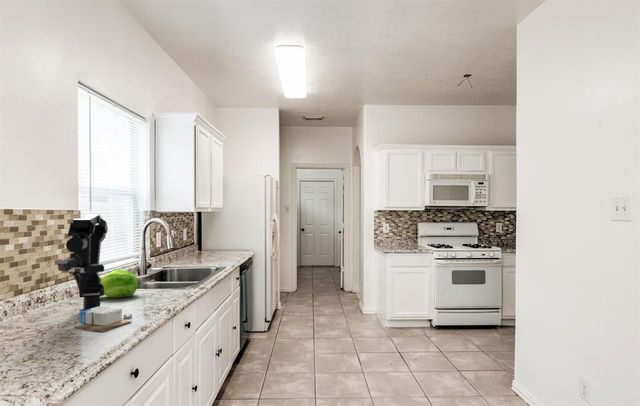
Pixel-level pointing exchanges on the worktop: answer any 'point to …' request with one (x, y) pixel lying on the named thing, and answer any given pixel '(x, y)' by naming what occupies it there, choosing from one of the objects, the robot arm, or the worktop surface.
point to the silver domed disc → (127, 316)
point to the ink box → (101, 316)
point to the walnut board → (102, 328)
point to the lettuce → (119, 283)
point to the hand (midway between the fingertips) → (80, 289)
